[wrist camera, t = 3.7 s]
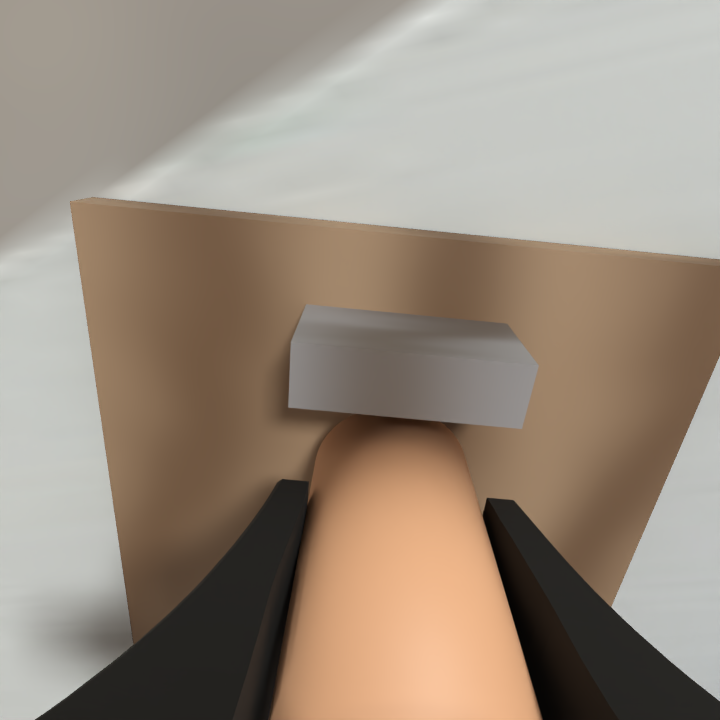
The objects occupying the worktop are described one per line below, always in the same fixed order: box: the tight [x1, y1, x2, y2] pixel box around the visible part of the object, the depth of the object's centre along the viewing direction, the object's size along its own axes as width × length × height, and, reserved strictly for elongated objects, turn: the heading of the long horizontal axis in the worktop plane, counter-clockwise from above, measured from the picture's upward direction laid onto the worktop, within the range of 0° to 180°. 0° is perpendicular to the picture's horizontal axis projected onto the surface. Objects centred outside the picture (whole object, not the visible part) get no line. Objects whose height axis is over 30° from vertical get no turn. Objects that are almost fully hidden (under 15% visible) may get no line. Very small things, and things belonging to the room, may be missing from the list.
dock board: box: [70, 197, 720, 644], centre depth 16 cm, size 16×26×4 cm, turn 175°
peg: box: [268, 414, 543, 720], centre depth 10 cm, size 4×4×7 cm
